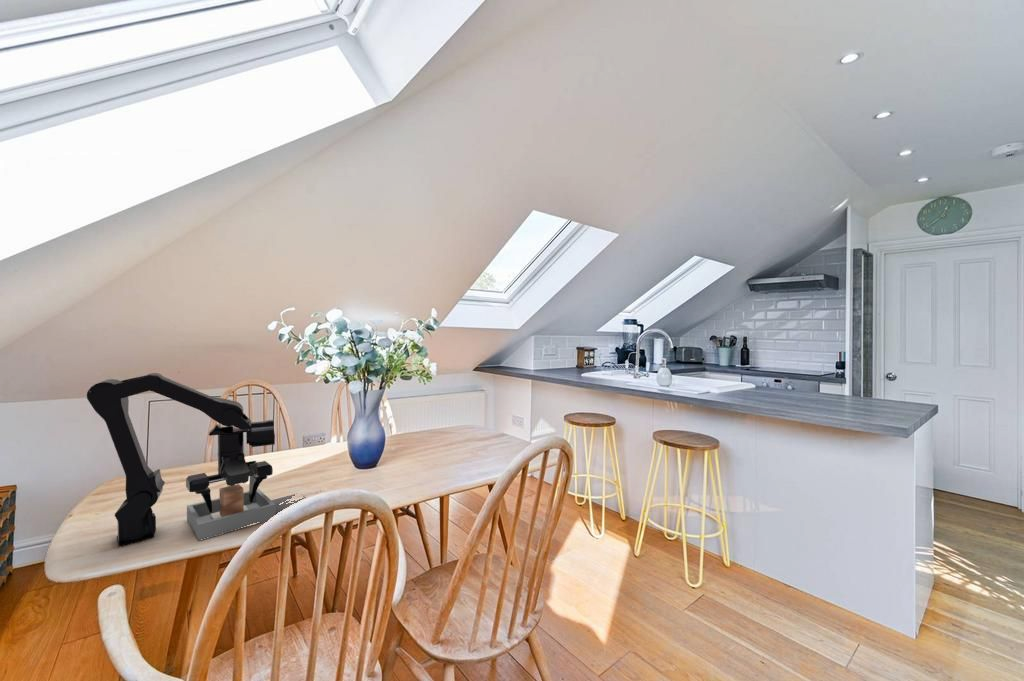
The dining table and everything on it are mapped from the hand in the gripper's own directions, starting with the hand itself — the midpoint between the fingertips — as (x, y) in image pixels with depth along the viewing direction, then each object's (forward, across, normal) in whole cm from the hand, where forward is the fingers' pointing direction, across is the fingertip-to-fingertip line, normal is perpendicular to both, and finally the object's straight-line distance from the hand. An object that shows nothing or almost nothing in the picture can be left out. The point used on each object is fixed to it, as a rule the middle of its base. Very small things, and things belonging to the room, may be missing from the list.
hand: (231, 507), depth 114 cm
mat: (+3, +14, 0) cm, 15 cm away
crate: (+3, 0, 0) cm, 3 cm away
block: (+2, 0, 0) cm, 2 cm away
